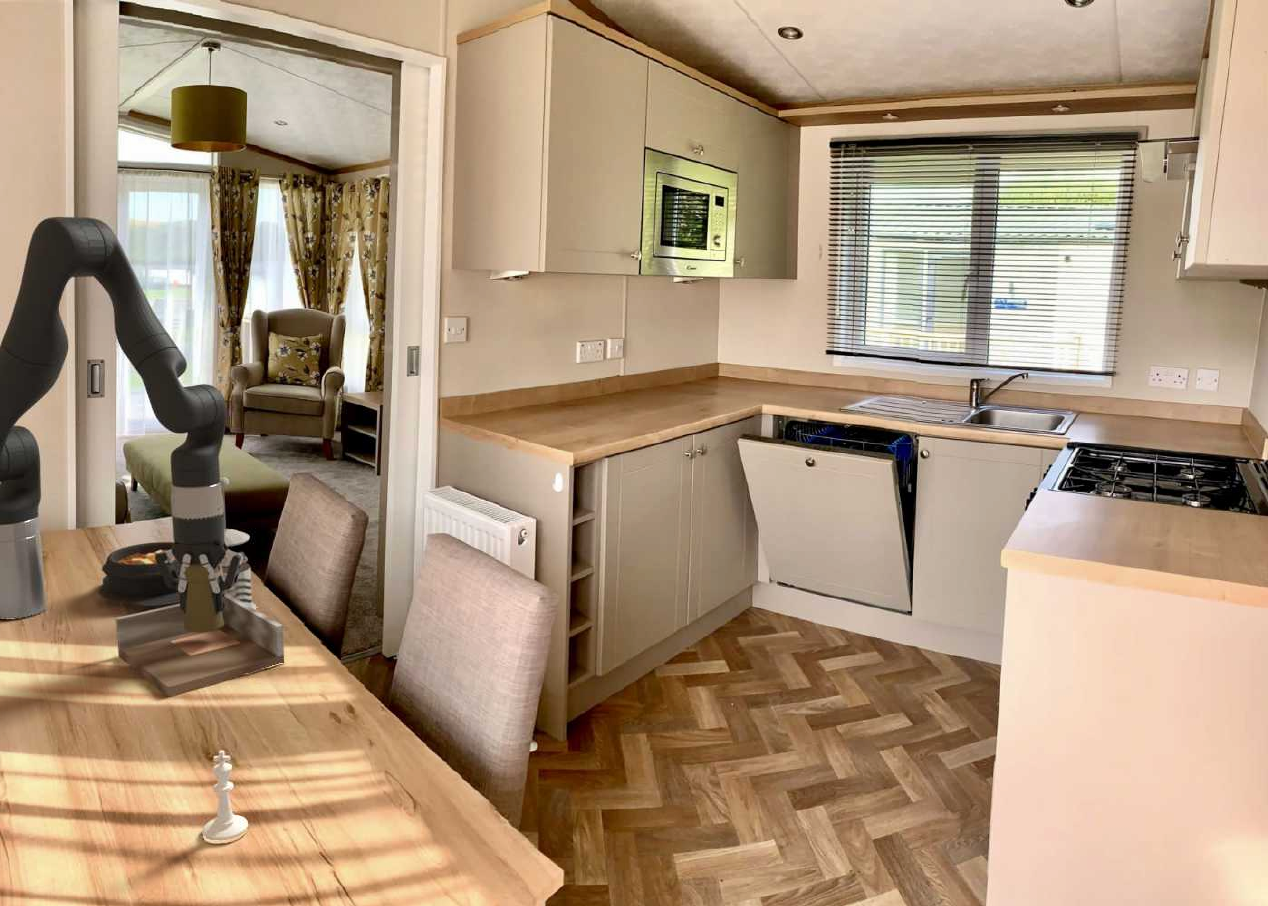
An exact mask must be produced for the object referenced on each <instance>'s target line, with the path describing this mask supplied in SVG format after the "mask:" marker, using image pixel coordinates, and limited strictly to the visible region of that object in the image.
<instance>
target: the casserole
mask: <svg viewBox="0 0 1268 906" xmlns="http://www.w3.org/2000/svg"><path fill="white" fill-rule="evenodd" d="M173 546H174V542H173V541H172V542H171V541H158V542H146V543H140V544H139V543H138V544H134V545H129V546H125V547H122V548H118V549H116V550H114V551H112V552H111V553H110V554H108V556H107V557H106V558H107V559H106V561H105V563H104V564H103V566H102V567H101V570H102V572H103V573H104V574H105V577H103V578H102V585H101V586H100V588H99V590H98V595H100V597H102V598H103V599H106V600H108V601H112V602H115V603H116V602H117V603H123V604H129V605H135V606H138V607H141V608H149V609H151V608H163V607H168V606H172V605H177V604H180V594H179V591H178V590H177V589H174V588H168V587H167V586H166V583H165V581H164V579H163V576H162V574H161V571H160V569H159V567H158V564H157V562H156V559H155V556H156V555H157V554H158V553H160V552H161V551H163V550H171V549H172V547H173ZM173 563H174V566H175V568H176V570H177V573H178V575H179V576H180V571H181V567H182V565H181V564H180V563H179V562H178V560H177V559H176V558H175V557H174V561H173Z"/></svg>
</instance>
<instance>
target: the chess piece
mask: <svg viewBox="0 0 1268 906" xmlns="http://www.w3.org/2000/svg"><path fill="white" fill-rule="evenodd" d="M212 758H213V759H212V760H213V762H219V763H218V764H216V765H214V766H213V768H212V772H213V774H214V776H215V779H216V782H217V783H215V784H214V785H213V788H212V790H213V792H214V793H217V794H218V804H217V814H216V815H217V816H216V817H215V818H213V819H211V820H209V821H208V822H207V823H206V824H204V827H203V828H202V834H203V835H204V836H205V837H206V838H207V839H210V840H220V841H221V840H227V839H231V838H234V837H237V836H240V835H241V834H242V833H243V832H244V831H245V830H246V829H247V827H248V826H249V823H248V822H249V821H248V820H247V818H245V817H244V816H241V815H238V814H234V813H233V811H232V809H233V808H232V805H231V799H230V795H229V792H230V791H232V790H233V789H234V783H233V782H232V781H229V779H230V776H231V772H232V770H233V765H232V764H231V763H230V761H231V755H225V750H219V752H218V755H214V756H213V757H212ZM228 762H229V763H228Z"/></svg>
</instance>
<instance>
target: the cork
mask: <svg viewBox="0 0 1268 906" xmlns="http://www.w3.org/2000/svg"><path fill="white" fill-rule="evenodd" d="M207 569H208V567H207ZM207 569H206V568H205V567H203V565H202V564H201V563H193V564H191V565H190V566H188V567H187V568H186V569H185V572H184V573H185V578H186V580H187V582H188V588H187V600H186V612H185V622H184V629H185V630H187V631H190V632H207V631H212V630H215V629H218V628H220V627H222V626H223V625H224V621H223V616H222V611H218V615H217V614H216V612H215V607H214V603H213V598H212V593H214V592H213V590H212V587H211V584H210V581H209V574H210V573H209V572H208V570H207ZM213 570H214V572H215V573H217V572H218V571H219V570H218V567H217V568H215V569H213Z"/></svg>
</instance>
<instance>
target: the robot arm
mask: <svg viewBox="0 0 1268 906" xmlns="http://www.w3.org/2000/svg"><path fill="white" fill-rule="evenodd" d="M27 248H28V249H27V254H26V257H25V263H24V267H23V272H22V276H21V281H20V285H19V290H18V294H17V297H16V300H15V303H14V306H13V309H12V313H11V317H10V318H9V319H10V320H9V323H8V325H7V327H6V330H5V333H4V335H3V337H2V340H1V343H0V619H2V618H3V619H7V618H9V619H10V618H19V619H21V618H20V617H25V618H28V617H27V616H29V617H32V616H36V615H38V614H40V613H42V612H44V611H45V610H46V609H47V607H48V606H47V599H46V598H47V597H46V584H45V573H44V562H43V561H44V560H43V547H42V539H41V528H40V517H39V516H40V514H39V506H40V502H41V499H42V485H41V484H42V482H41V480H42V478H41V457H40V456H41V453H40V448H39V445H38V442H37V440H36V437H35V436H34V434H33V432H32V431H30V430H29V428H27V427H25V426H21V425H16V423H17V422H18V421H19V420H20V419H21V418H22V417H23V415H25V414H26V413H27V412H28V411H29V410H30V409H32V408H33V407H34V406H35V405H36V404H37V403H38V402H40V400H41V399H43V397H44V396H46V394H48V393H49V391H50V390H51V389H52V388H53V387H54V386H55V384H56V383H57V380H58V379H59V376H60V375H61V372H62V369H63V368H64V364H65V361H66V359H67V356H68V353H69V338H68V333H67V330H66V328H65V326H64V322H63V319H62V317H61V315H60V304H61V300H62V298H63V297H62V296H63V294H64V291H65V288H66V287H67V284H68V283H69V282H70V280H71V279H72V278H86V277H87V278H89V277H90V278H91V277H93V278H94V279H95V280H96V281H97V282H98V283H99V284H100V285H101V286H102V287H103V289H104V290H105V292H106V293H107V294H108V296H109V298H110V300H111V303H112V306H113V307H112V308H113V318H114V319H113V320H114V331H115V336H116V339H117V342H118V344H119V345H118V346H119V347H120V348H121V350H122V353H123V354H124V355H125V357H126V358H127V360H128V361H129V362H130V363H131V366H133V367H134V370H135V372H137V374H138V376H140V378H141V380H142V382H143V385H144V388H145V391H146V394H147V397H148V400H149V403H150V405H151V408H152V412H153V414H154V417H155V418H156V420H157V422H159V423H160V424H161V426H162V427H163V428H165V429H166V430H168V431H169V432H171V433H174V434H178V435H180V434H181V435H182V434H186V435H187V436H186V438H185V441H184V442H183V443H182V444H181V445H180V446H177V447H176V448H174V449H173V451H172V452H171V454H170V472H171V473H170V474H171V475H170V476H171V493H170V494H171V496H170V499H171V500H170V504H171V520H172V521H171V522H172V537H173V541H174V546H173V547H172V549H171V550H163V551H161V552H160V553H158V554H157V555H156V556H155V559H156V562H157V564H158V567H159V569H160V571H161V574H162V576H163V579H164V581H165V583H166V586H167V587H168V588H174V589H177V590H178V591H179V594H180V608H181V610H184V614H185V612H186V600H187V588H188V582H187V580H186V578H185V573H184V572H185V569H186V568H187V567H188V566H190V565H191V564H193V563H201V564H202V565H203V567H205V568H206V569H207V567H208V569H207V570H208V572H209V573H210V574H209V581H210V584H211V587H212V590H213V592H214V593H212V598H213V603H214V607H215V612H216V614H217V615H218V611H222V610H223V609H224V607H225V590H232V589H233V588H232V587H233V586H234V585H235V584H236V583H237V580H238V576H239V573H240V570H241V567H242V564H243V560H244V557H245V556H246V555H245V553H244V552H243V551H239V552H236V551H233V550H229V548H228V547H229V546H228V547H227V546H226V544H225V541H224V537H225V534H224V529H225V526H224V503H223V489H222V485H220V478H221V473H220V472H221V470H220V453H221V449H222V445H223V441H224V435H225V432H226V426H227V421H228V407H227V402H226V398H224V396H223V393H222V392H221V391H220V390H219V389H218V388H217V387H215V386H213V385H212V384H208V383H207V384H205V383H203V384H201V383H200V384H195V385H189V386H183V385H182V384H181V382H180V380H179V378H180V377H182V376H183V374H184V373H185V372H186V370H187V366H188V365H187V364H188V363H187V359H186V358H185V356H184V354H183V353H182V351H181V350H180V348H179V347H178V345H176V343H175V341H174V340H173V339H172V337H171V336H170V334H169V333H168V331H166V328H164V325H163V324H162V323H161V321H160V320H159V319H158V317H157V315H156V313H155V312H154V310H153V308H152V306H151V304H150V302H149V300H148V299H147V296H146V294H145V293H144V290H143V288H142V286H141V284H140V281H139V278H137V275H136V273H135V271H134V269H133V267H132V265H131V263H130V260H129V259H128V257H127V255H126V251H124V248H123V246H122V245H121V242H120V241H119V239H118V237H117V235H116V234H115V232H114V231H113V230H112V228H111V227H110V226H109V225H108V224H107V223H106V222H104V221H103V220H101V219H97V218H93V217H83V216H82V217H74V216H72V217H71V216H54V217H47V218H44V219H43V220H41V221H40V222H38V224H37V225H36V227H35V229H34V230H33V232H32V234H31V238H30V240H29V245H28V247H27ZM174 557H175V558H176V559H177V560H178V562H179V563H180V564H181V565H182V567H181V571H180V576H179V575H178V573H177V570H176V568H175V566H174V563H173V561H174ZM224 557H226V558H227V564H228V565H230V566H229V570H228V573H227V574H226V575H227V576H226V579H225V581H224V578H223V575H224V573H223V570H222V567H221V564H220V563H221V561H222V560H223V559H224ZM217 567H218V570H219V571H218V572H217V573H215V572H214V570H213V569H215V568H217ZM31 615H32V616H31Z"/></svg>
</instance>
